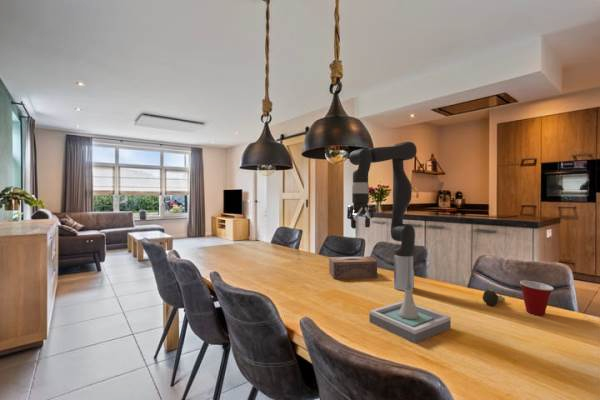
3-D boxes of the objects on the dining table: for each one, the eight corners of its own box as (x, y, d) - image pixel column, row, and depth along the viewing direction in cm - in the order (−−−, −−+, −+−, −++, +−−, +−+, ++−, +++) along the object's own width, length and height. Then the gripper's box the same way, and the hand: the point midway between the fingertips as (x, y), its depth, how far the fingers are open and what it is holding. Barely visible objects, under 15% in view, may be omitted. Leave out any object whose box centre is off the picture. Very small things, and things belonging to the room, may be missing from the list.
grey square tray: (404, 310, 124) (404, 300, 124) (450, 328, 107) (450, 316, 107) (369, 321, 113) (369, 310, 113) (415, 343, 96) (415, 330, 96)
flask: (420, 320, 106) (420, 292, 106) (399, 319, 107) (399, 291, 107) (417, 313, 113) (417, 286, 113) (397, 311, 114) (397, 285, 114)
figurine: (507, 291, 136) (499, 292, 126) (506, 306, 135) (499, 307, 125) (487, 287, 142) (478, 288, 131) (486, 301, 141) (477, 303, 130)
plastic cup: (556, 321, 113) (556, 289, 113) (521, 315, 118) (521, 285, 118) (550, 311, 122) (550, 282, 122) (518, 306, 128) (518, 278, 128)
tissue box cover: (369, 272, 189) (369, 256, 189) (377, 278, 174) (377, 261, 174) (329, 273, 187) (329, 257, 187) (333, 279, 172) (333, 262, 172)
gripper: (354, 192, 130) (354, 229, 131) (377, 192, 138) (377, 227, 138) (343, 192, 137) (343, 228, 137) (365, 192, 144) (365, 226, 145)
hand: (360, 227), depth 138 cm, fingers open, 8 cm apart
